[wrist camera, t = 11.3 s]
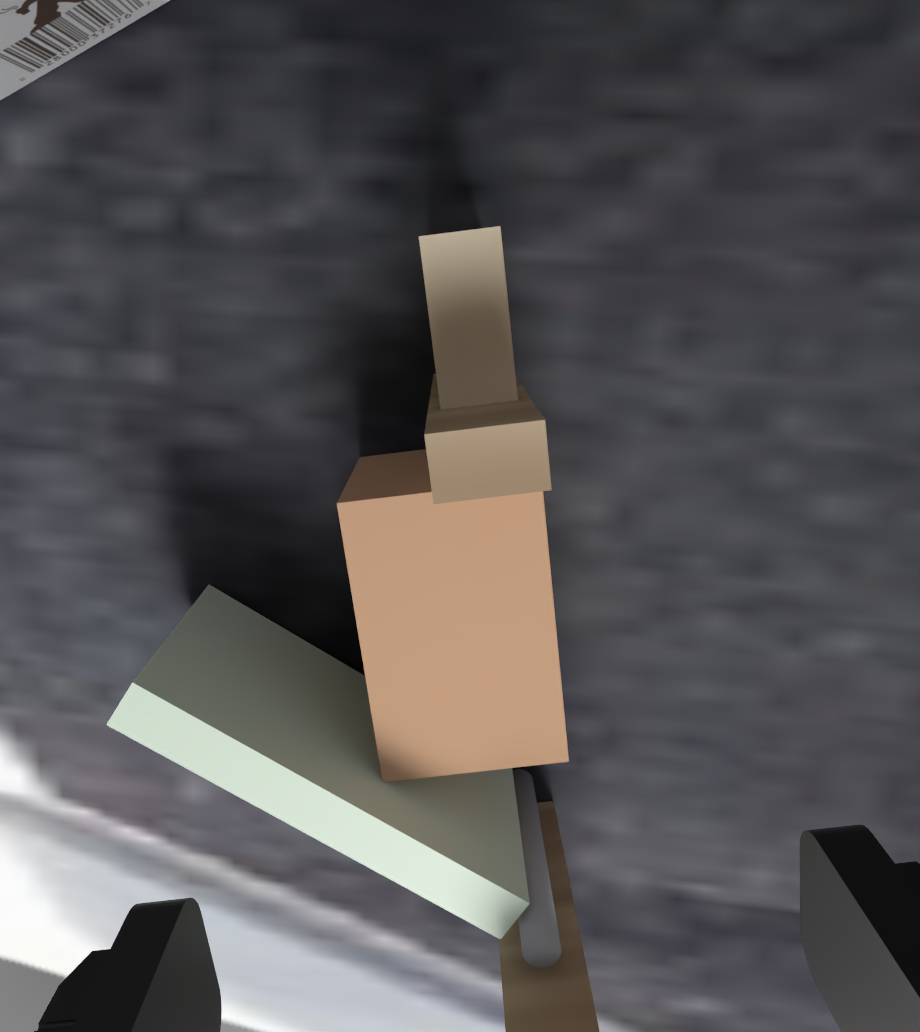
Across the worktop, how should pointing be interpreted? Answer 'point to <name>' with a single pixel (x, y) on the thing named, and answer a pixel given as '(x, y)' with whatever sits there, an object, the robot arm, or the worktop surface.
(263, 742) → the door
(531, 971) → the door frame
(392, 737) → the rectangular block
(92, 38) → the coffee box
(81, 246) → the worktop surface
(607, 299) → the worktop surface
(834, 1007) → the robot arm
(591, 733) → the worktop surface
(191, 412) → the worktop surface
